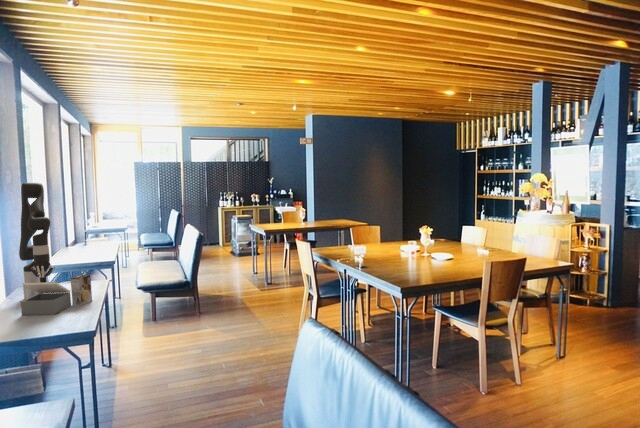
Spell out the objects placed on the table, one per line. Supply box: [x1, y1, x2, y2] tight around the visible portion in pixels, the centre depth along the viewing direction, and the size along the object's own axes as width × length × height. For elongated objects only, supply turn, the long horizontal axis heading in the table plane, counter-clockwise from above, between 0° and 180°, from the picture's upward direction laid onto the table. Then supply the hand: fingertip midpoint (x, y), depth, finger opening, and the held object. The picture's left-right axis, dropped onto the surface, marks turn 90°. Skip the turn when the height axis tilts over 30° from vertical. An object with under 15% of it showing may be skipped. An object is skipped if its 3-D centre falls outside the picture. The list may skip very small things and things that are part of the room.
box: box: [20, 292, 72, 317], centre depth 247 cm, size 18×16×8 cm
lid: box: [22, 281, 71, 294], centre depth 248 cm, size 18×16×1 cm
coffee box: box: [70, 274, 93, 306], centre depth 262 cm, size 9×6×16 cm
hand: (43, 283), depth 244 cm, fingers closed
